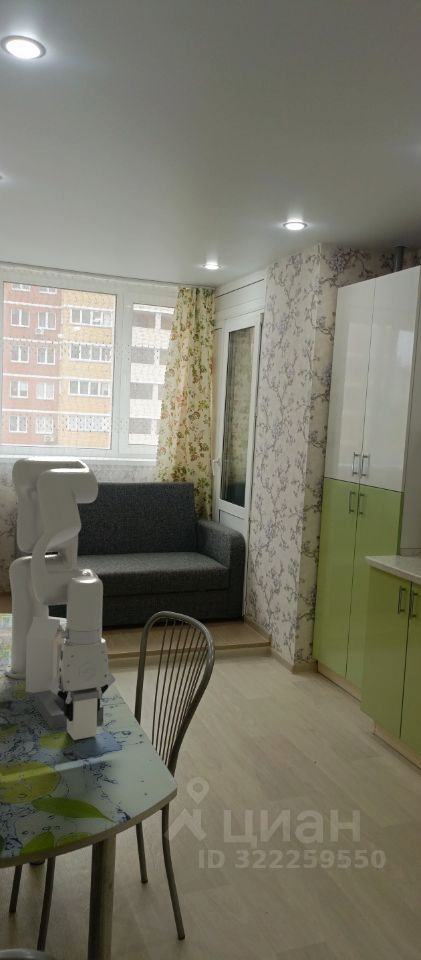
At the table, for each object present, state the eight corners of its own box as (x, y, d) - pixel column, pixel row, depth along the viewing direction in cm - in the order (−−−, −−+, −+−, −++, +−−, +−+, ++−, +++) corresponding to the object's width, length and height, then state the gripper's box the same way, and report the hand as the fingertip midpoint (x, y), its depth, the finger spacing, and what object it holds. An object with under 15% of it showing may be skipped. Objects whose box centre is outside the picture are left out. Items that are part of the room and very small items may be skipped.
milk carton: (52, 699, 174) (53, 623, 172) (25, 695, 175) (26, 620, 174) (63, 688, 181) (65, 615, 179) (37, 685, 182) (39, 613, 181)
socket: (34, 708, 168) (34, 692, 168) (83, 700, 174) (83, 684, 173) (51, 733, 156) (51, 715, 155) (103, 723, 162) (103, 706, 161)
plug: (65, 730, 154) (66, 685, 153) (89, 725, 157) (90, 682, 156) (73, 740, 150) (74, 695, 149) (97, 735, 152) (98, 691, 151)
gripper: (49, 645, 144) (48, 730, 146) (127, 635, 152) (125, 716, 154) (39, 634, 150) (38, 716, 152) (114, 625, 159) (112, 703, 160)
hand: (81, 715), depth 153 cm, fingers closed on plug, 4 cm apart
